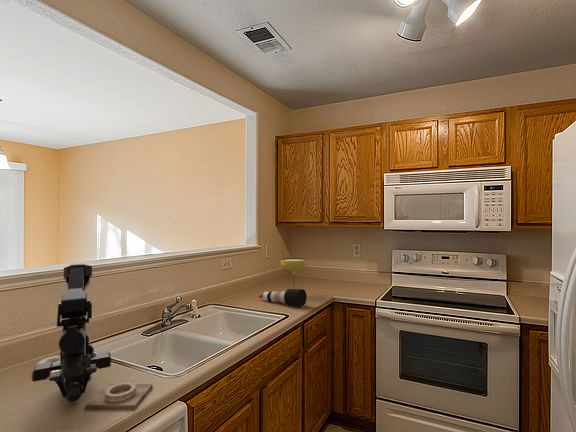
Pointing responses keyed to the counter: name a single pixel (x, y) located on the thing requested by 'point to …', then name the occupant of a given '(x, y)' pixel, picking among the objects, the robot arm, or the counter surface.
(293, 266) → the cocktail glass
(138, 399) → the egg stand
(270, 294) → the bottle
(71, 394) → the egg
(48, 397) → the counter surface
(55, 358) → the donut
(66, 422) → the counter surface
